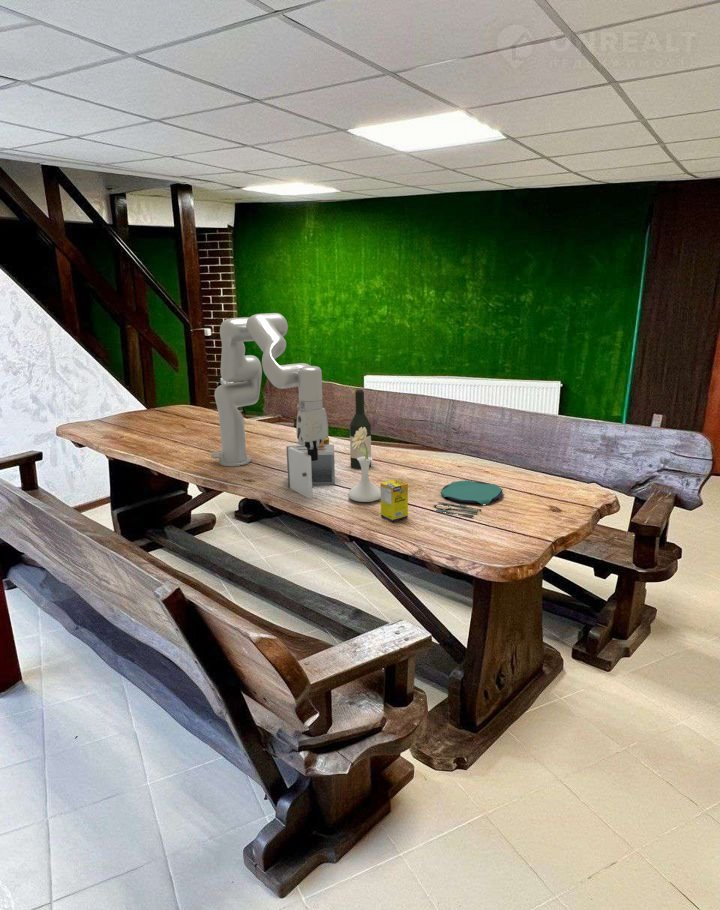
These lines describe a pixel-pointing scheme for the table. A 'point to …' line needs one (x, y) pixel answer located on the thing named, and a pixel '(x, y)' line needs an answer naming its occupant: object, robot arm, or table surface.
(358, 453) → the wine bottle
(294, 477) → the door
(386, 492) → the supplement box
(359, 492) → the flower in vase
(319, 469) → the white slider console
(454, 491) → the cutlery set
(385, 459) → the table surface
